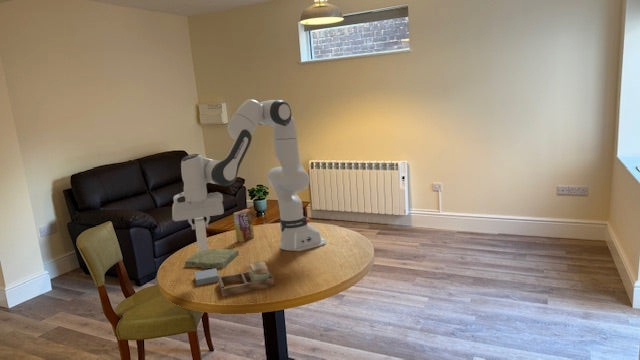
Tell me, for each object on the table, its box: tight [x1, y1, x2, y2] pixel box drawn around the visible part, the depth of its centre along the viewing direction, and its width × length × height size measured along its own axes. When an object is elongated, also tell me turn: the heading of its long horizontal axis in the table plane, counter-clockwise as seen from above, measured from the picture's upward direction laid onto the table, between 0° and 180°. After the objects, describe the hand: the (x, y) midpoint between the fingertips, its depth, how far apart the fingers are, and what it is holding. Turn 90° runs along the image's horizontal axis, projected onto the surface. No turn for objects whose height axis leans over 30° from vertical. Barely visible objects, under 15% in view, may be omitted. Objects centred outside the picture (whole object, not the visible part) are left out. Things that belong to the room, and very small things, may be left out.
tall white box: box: [193, 217, 209, 251], centre depth 185 cm, size 4×9×12 cm, turn 19°
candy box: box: [232, 208, 255, 243], centre depth 239 cm, size 9×4×15 cm, turn 140°
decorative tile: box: [183, 248, 240, 269], centre depth 211 cm, size 19×20×4 cm
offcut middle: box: [248, 269, 270, 282], centre depth 182 cm, size 6×8×2 cm
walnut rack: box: [218, 267, 275, 297], centre depth 180 cm, size 20×13×4 cm, turn 109°
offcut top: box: [249, 261, 269, 276], centre depth 181 cm, size 6×8×2 cm
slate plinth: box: [194, 268, 220, 287], centre depth 189 cm, size 9×9×2 cm
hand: (200, 228), depth 185 cm, fingers closed on tall white box, 3 cm apart
